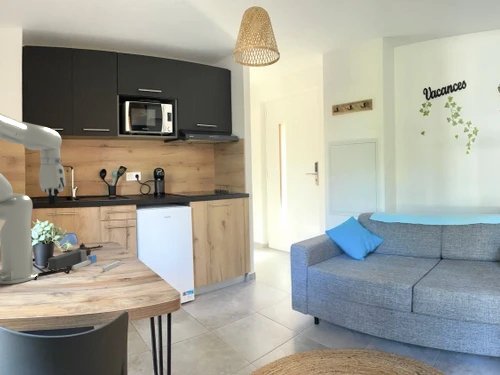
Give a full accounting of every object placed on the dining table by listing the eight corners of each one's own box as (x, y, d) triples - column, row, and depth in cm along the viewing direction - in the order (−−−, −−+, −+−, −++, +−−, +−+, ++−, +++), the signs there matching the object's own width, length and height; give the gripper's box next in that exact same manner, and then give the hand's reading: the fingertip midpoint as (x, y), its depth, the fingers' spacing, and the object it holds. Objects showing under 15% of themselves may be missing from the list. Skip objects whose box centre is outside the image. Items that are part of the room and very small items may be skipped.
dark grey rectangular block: (58, 271, 136) (57, 259, 136) (47, 271, 137) (46, 258, 137) (86, 260, 152) (86, 249, 151) (77, 260, 153) (76, 249, 153)
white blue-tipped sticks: (104, 271, 135) (104, 264, 135) (43, 267, 142) (43, 260, 142) (124, 262, 147) (123, 255, 147) (66, 259, 154) (66, 253, 154)
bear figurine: (65, 252, 156) (61, 244, 168) (65, 261, 157) (61, 252, 169) (107, 246, 166) (100, 239, 178) (107, 255, 167) (101, 247, 179)
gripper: (71, 162, 152) (74, 203, 153) (44, 163, 156) (46, 203, 157) (58, 162, 145) (60, 205, 146) (29, 162, 148) (32, 205, 149)
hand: (53, 204), depth 151 cm, fingers closed
